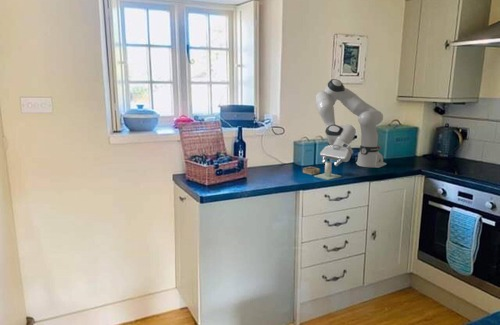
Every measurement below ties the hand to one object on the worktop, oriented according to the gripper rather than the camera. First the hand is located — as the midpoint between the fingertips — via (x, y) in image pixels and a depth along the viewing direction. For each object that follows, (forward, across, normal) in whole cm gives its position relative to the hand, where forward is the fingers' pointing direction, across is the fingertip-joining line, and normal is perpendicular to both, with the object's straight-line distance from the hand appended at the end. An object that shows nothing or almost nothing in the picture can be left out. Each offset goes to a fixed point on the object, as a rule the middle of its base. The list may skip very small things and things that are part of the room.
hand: (329, 164), depth 228 cm
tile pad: (+6, 0, +5) cm, 8 cm away
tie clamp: (+6, -13, +5) cm, 16 cm away
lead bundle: (+6, 0, +5) cm, 7 cm away
